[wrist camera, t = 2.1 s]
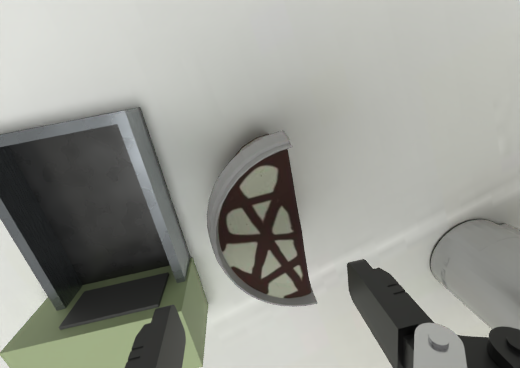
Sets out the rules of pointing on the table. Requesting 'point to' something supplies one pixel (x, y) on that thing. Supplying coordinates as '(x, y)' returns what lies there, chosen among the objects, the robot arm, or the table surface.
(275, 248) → the food container
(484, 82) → the table surface
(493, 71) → the table surface
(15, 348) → the pale green rectangular block
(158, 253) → the gray open tray
